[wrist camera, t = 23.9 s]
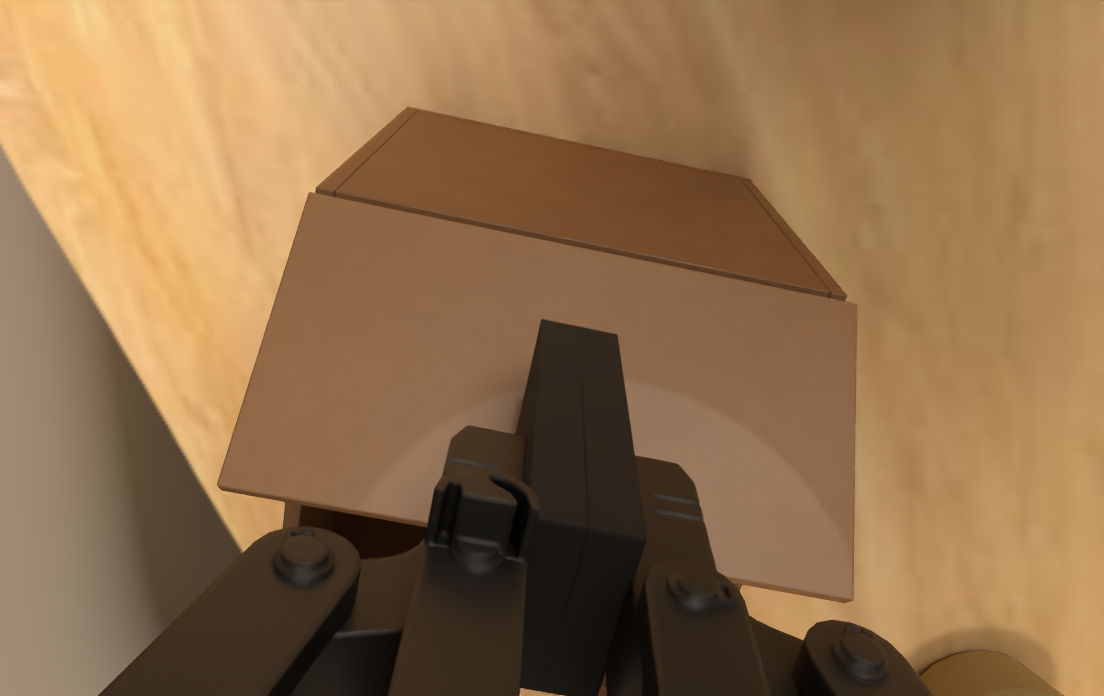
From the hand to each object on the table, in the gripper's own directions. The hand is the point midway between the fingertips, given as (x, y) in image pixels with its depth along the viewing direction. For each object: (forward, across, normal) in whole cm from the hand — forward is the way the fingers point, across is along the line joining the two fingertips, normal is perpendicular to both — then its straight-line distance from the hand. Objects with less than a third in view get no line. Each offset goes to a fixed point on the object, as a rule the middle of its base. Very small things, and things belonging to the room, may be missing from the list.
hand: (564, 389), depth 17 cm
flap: (+2, 0, -1) cm, 2 cm away
